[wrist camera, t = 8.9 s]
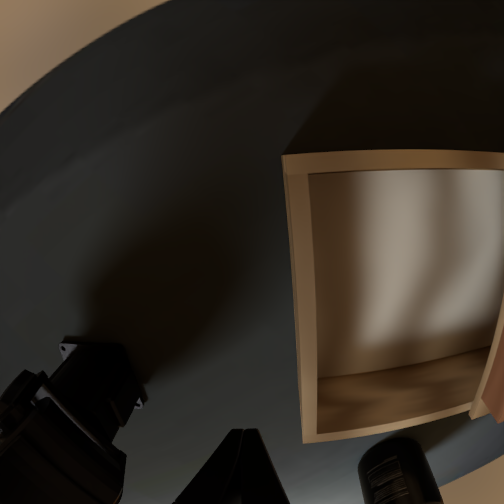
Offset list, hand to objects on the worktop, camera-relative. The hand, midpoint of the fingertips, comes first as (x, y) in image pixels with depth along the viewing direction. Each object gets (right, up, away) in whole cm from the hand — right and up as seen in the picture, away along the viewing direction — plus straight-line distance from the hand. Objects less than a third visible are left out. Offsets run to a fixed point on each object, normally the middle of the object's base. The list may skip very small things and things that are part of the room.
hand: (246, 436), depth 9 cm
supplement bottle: (+14, -15, +16) cm, 26 cm away
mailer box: (+12, +4, +10) cm, 16 cm away
